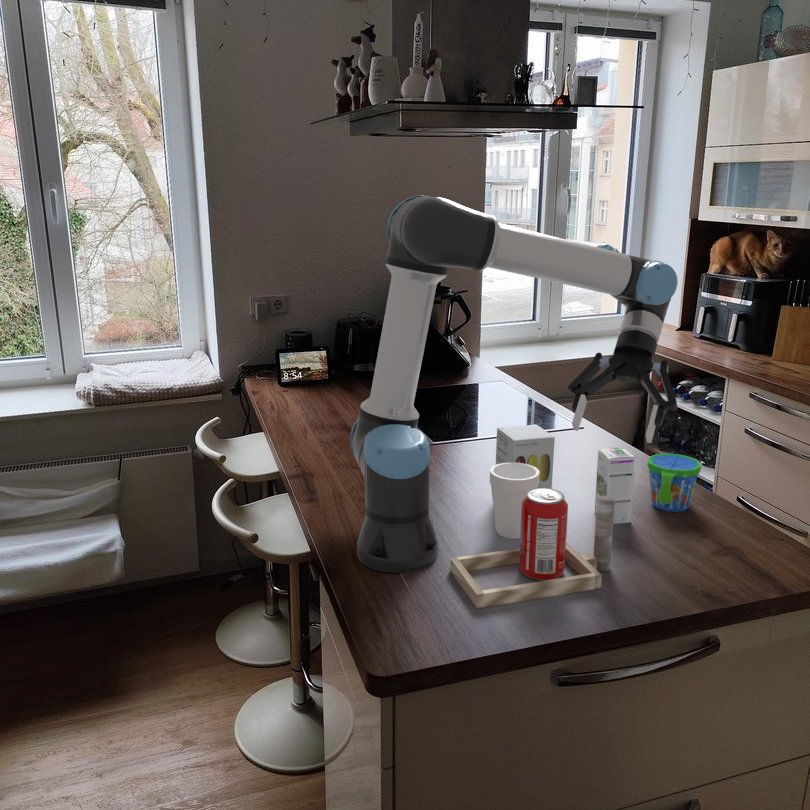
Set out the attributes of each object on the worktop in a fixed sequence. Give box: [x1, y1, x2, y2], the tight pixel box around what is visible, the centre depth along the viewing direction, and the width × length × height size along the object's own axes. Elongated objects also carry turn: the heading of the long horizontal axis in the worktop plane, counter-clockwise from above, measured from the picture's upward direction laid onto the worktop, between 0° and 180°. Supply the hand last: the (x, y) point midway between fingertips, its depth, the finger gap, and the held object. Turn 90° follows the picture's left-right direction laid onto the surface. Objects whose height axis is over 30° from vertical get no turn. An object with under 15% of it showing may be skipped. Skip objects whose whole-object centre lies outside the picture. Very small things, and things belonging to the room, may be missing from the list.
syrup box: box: [594, 447, 636, 525], centre depth 155 cm, size 6×6×14 cm
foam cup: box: [489, 463, 540, 540], centre depth 150 cm, size 10×9×13 cm
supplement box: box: [495, 424, 556, 489], centre depth 161 cm, size 10×9×17 cm
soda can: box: [519, 488, 569, 582], centre depth 134 cm, size 8×8×15 cm
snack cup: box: [647, 453, 702, 513], centre depth 162 cm, size 16×10×10 cm
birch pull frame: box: [449, 496, 615, 610], centre depth 132 cm, size 28×13×13 cm, turn 106°
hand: (610, 433), depth 142 cm, fingers open, 13 cm apart
